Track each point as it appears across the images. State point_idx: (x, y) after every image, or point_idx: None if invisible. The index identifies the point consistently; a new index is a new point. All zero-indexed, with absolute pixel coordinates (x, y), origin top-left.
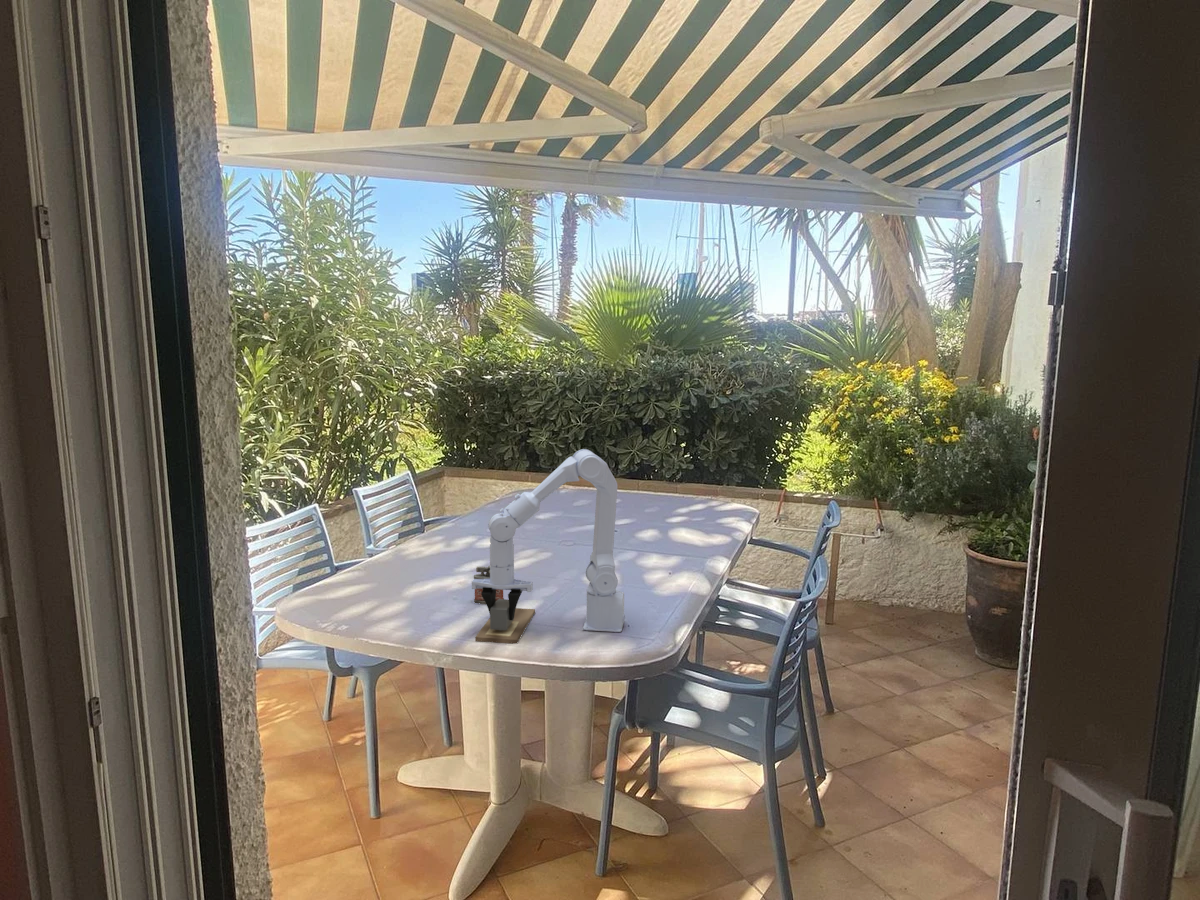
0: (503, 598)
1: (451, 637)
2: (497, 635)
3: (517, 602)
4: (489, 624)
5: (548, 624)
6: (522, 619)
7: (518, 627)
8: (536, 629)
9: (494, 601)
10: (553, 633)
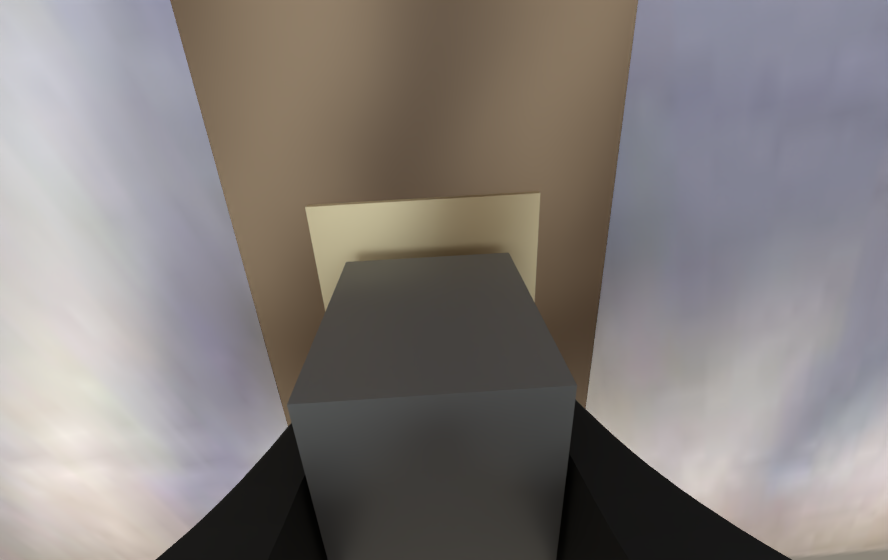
0: None
1: (134, 452)
2: None
3: (653, 473)
4: (293, 292)
5: (793, 78)
6: (558, 107)
7: (554, 300)
8: (681, 215)
9: (304, 540)
10: (810, 262)
